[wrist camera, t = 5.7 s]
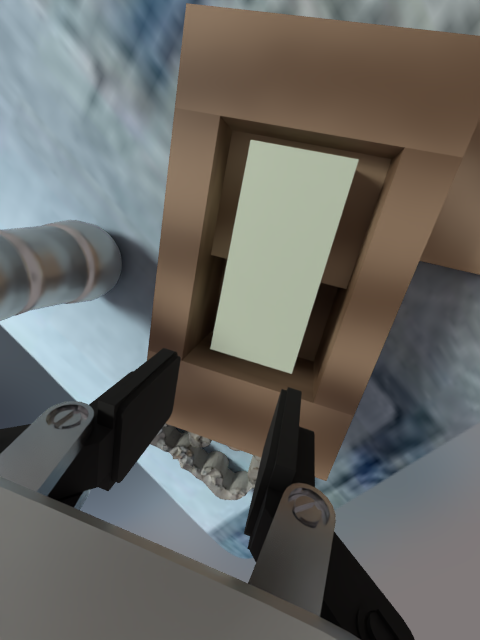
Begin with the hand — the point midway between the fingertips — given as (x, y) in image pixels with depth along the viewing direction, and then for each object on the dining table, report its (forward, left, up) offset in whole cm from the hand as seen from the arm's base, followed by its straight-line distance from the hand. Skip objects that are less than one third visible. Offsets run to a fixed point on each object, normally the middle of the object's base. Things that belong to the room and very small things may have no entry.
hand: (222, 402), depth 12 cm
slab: (-4, 0, -9) cm, 10 cm away
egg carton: (+13, -2, -14) cm, 19 cm away
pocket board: (-3, 0, -13) cm, 14 cm away
